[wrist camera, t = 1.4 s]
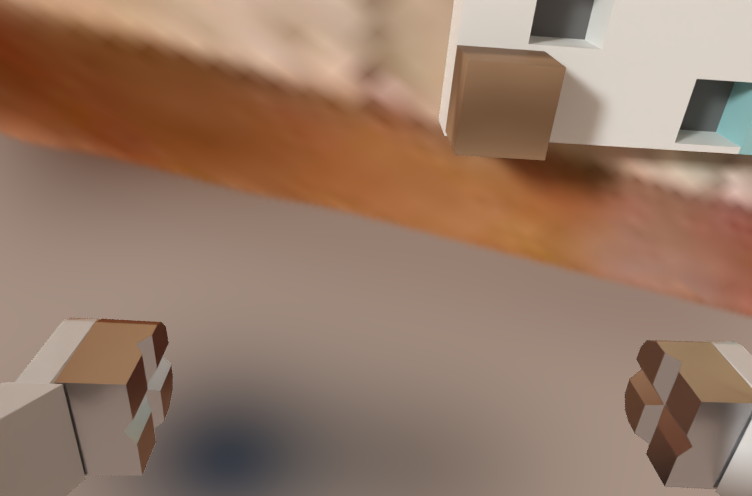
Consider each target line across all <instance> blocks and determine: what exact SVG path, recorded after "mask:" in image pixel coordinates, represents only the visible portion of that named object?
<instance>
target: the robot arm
mask: <svg viewBox="0 0 752 496" xmlns="http://www.w3.org/2000/svg"><path fill="white" fill-rule="evenodd" d="M168 343H169V342H168V336H167V331H166V326H165V325H164V324H163V323H162V322H149V321H131V320H114V319H101V320H100V319H93V318H68V319H66V320H63V321H62V322H61V323H60V325H59V326H58V327H57V329H56V330H55V331H54V333H53V334H52V335H51V336H50V338H49V339H48V340H47V341H46V343H45V344H44V345H43V347H42V348H41V349H40V351H39V352H38V353H37V355H36V356H35V357H34V358H33V359H32V361H31V362H30V363H29V365H28V366H27V367H26V368H25V370H24V371H23V372H22V374H21V375H20V376H19V377H18V379H17V380H16V381H15V383H13V382H4V383H2V384H0V496H66V495H68V494H69V493H70V492H71V491H72V490H73V489H75V488H76V487H77V486H78V485H79V484H80V483H81V482H83V481H84V480H85V476H113V475H114V476H122V475H123V476H127V475H128V476H130V475H143V473H144V470H145V468H146V465H147V462H148V460H149V458H150V455H151V453H152V450H153V448H154V445H155V443H156V439H155V433H154V428H155V427H157V426H158V425H159V424H161V423H162V422H163V421H164V420H165V418H166V415H167V412H168V410H169V406H170V401H171V396H172V390H173V374H172V366H171V364H170V363H169V362H168V361H167V360H166V359H165V357H164V356H163V355H164V352H165V350H166V348H167V346H168ZM637 361H638V363H639V365H640V367H641V370H640V371H639V372H637V373H636V374H635V375H634V376H633V377H631V378H630V379H629V382H628V385H627V389H626V392H625V411H626V415H627V418H628V421H629V424H630V425H631V427H632V429H633V431H634V433H635V434H636V435H638V436H639V437H641V438H642V439H643V440H645V441H646V442H647V443H649V447H648V450H647V453H646V454H647V456H648V458H649V460H650V462H651V463H652V465H653V467H654V469H655V470H656V472H657V474H658V476H659V477H660V479H661V481H662V483H663V484H664V486H665V487H683V488H685V487H686V488H704V489H716V492H717V493H718V494H719V495H720V496H752V355H751V354H750V353H749V352H748V351H747V350H746V349H745V348H744V347H743V346H742V345H740V344H738V343H736V342H734V341H703V342H693V341H657V340H655V341H654V340H647V341H646V342H645V343H644V344H643V345H642V346H641V348H640V351H639V353H638V356H637Z"/></svg>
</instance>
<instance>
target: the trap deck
mask: <svg viewBox="0 0 752 496" xmlns="http://www.w3.org/2000/svg"><path fill="white" fill-rule="evenodd" d="M457 45H464V46H478V47H493V48H507V49H521V50H535V51H545V52H546V53H548V54H549V55H550V56H552V57H553V58H554V59H556V60H557V61H558V62H560V63H561V64H562V65H564V66H565V67H566V71H565V75H564V80H563V84H562V88H561V93H560V97H559V101H558V106H557V110H556V114H555V119H554V123H553V127H552V132H551V136H550V140H549V142H551V143H567V144H583V145H599V146H616V147H632V148H648V149H664V150H680V151H697V152H713V153H729V154H745V155H752V0H454V5H453V13H452V21H451V29H450V36H449V44H448V52H447V60H446V67H445V75H444V83H443V91H442V98H441V106H440V114H439V122H440V125H441V127H442V130H443V133H444V135H445V136H447V134H446V131H445V130H446V123H447V116H448V108H449V101H450V94H451V86H452V79H453V72H454V64H455V57H456V50H457Z"/></svg>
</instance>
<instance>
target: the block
mask: <svg viewBox="0 0 752 496" xmlns="http://www.w3.org/2000/svg"><path fill="white" fill-rule="evenodd" d="M565 71H566V67H565V66H564V65H562V64H561V63H560V62H558V61H557V60H556V59H554V58H553V57H552V56H550V55H549V54H548V53H546V52H545V51H535V50H521V49H507V48H493V47H478V46H464V45H457V50H456V57H455V64H454V72H453V79H452V86H451V94H450V101H449V108H448V116H447V123H446V130H445V131H446V134H447V136H448V139H449V141H450V144H451V147H452V149H453V152H454V154H455V155H463V156H480V157H497V158H513V159H530V160H545V158H546V153H547V149H548V145H549V140H550V136H551V132H552V127H553V123H554V119H555V114H556V110H557V106H558V101H559V97H560V93H561V88H562V84H563V80H564V75H565Z"/></svg>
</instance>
